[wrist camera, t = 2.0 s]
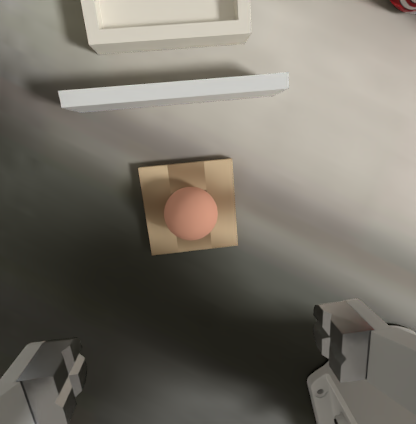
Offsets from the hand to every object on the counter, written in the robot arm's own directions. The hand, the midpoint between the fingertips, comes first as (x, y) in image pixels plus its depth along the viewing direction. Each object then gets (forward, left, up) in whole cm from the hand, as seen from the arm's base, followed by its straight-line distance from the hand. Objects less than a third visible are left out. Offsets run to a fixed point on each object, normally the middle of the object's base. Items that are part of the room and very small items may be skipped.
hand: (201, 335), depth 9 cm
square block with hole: (0, 0, -19) cm, 19 cm away
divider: (+10, 0, -19) cm, 22 cm away
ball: (0, 0, -19) cm, 19 cm away
